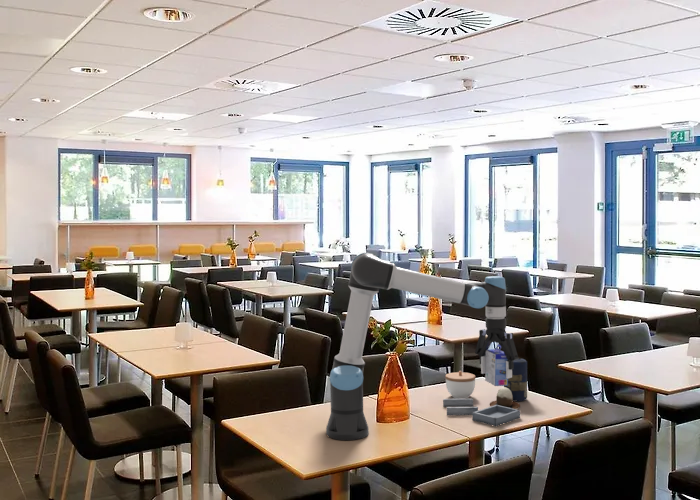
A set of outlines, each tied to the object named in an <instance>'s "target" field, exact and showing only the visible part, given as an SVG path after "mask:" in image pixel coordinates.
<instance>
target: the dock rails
mask: <svg viewBox="0 0 700 500" xmlns="http://www.w3.org/2000/svg"><path fill="white" fill-rule="evenodd" d="M442 402H443V403H442V404H443V405H442V407H444V408H446V416H472V412H475V411H478V410H479V406H474V399H473V398H466V399H457V398H443V399H442Z"/></svg>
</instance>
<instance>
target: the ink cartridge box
mask: <svg viewBox="0 0 700 500" xmlns="http://www.w3.org/2000/svg"><path fill="white" fill-rule="evenodd" d="M485 356H486V360H485V373H484V374H485V375H484V377H485V378H484V381H486V382H487V383H489V384H491V385H492V386H494V387H504V386H508V379H507V378H506V361H507V360H508V359H507V357H506V355H505V353H504V351H503V350H502V347H501V346H500V345H499V343H497V345H496V347H495V349H494V348H492V349H490V348H489V349H488V350H486V355H485Z"/></svg>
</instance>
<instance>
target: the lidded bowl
mask: <svg viewBox="0 0 700 500" xmlns="http://www.w3.org/2000/svg"><path fill="white" fill-rule="evenodd" d="M475 385H476V375H475V374H473V373H470V372H463V371H462V370H459V371H457V372H450V373H446V374H445V387H446V390H447V392H448V393H449V394H450V396H451V397H452V399H470V396H471V395H472V394H473V393H474V390H475V387H476V386H475Z"/></svg>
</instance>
